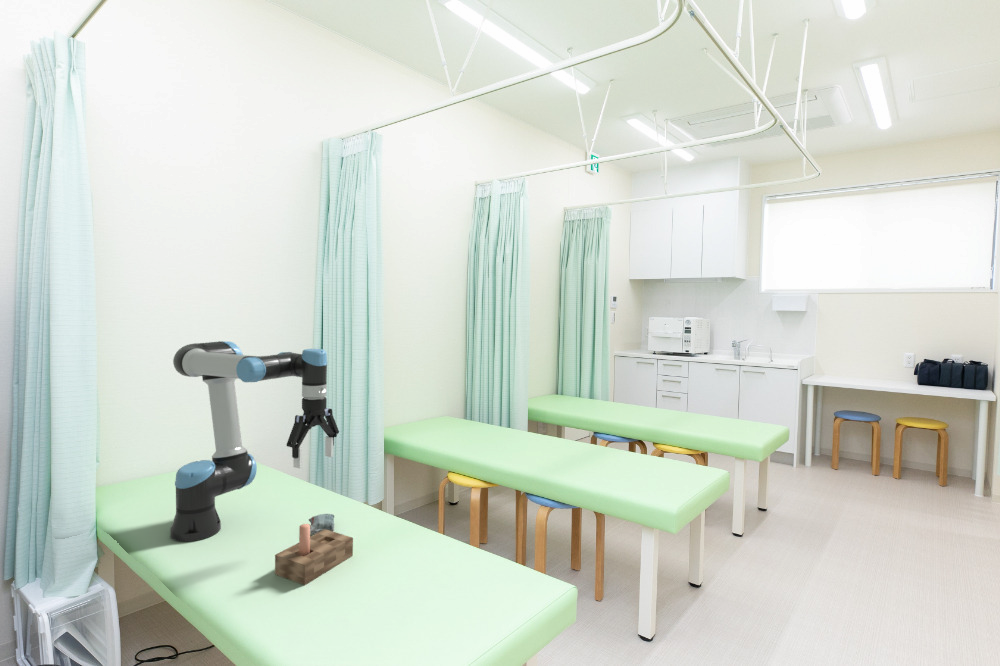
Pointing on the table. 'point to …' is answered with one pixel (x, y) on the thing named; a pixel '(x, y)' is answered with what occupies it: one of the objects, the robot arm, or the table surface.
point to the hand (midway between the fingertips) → (313, 461)
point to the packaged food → (321, 523)
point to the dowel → (304, 539)
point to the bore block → (314, 557)
